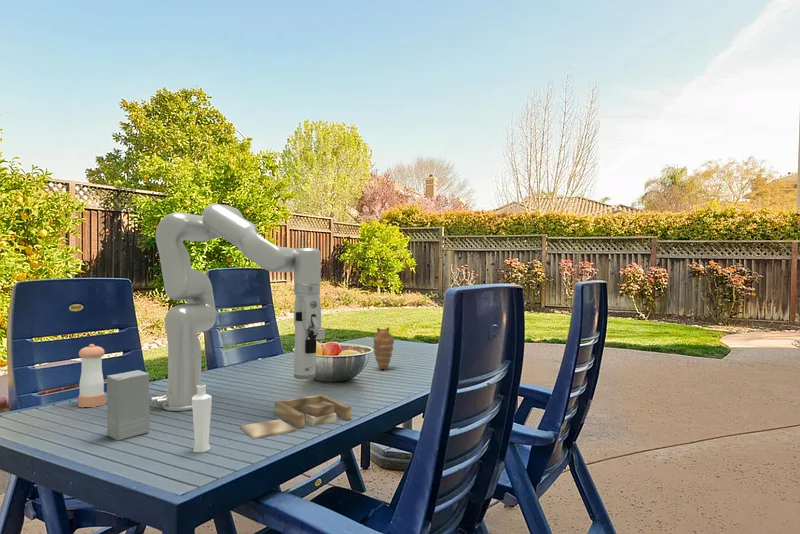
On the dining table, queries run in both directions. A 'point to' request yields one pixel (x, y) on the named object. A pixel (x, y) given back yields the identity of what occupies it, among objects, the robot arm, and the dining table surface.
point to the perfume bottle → (201, 418)
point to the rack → (293, 406)
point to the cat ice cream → (383, 347)
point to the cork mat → (267, 428)
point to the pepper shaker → (91, 377)
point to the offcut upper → (320, 409)
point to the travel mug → (302, 352)
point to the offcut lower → (321, 419)
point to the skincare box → (127, 404)
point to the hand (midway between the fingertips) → (305, 350)
